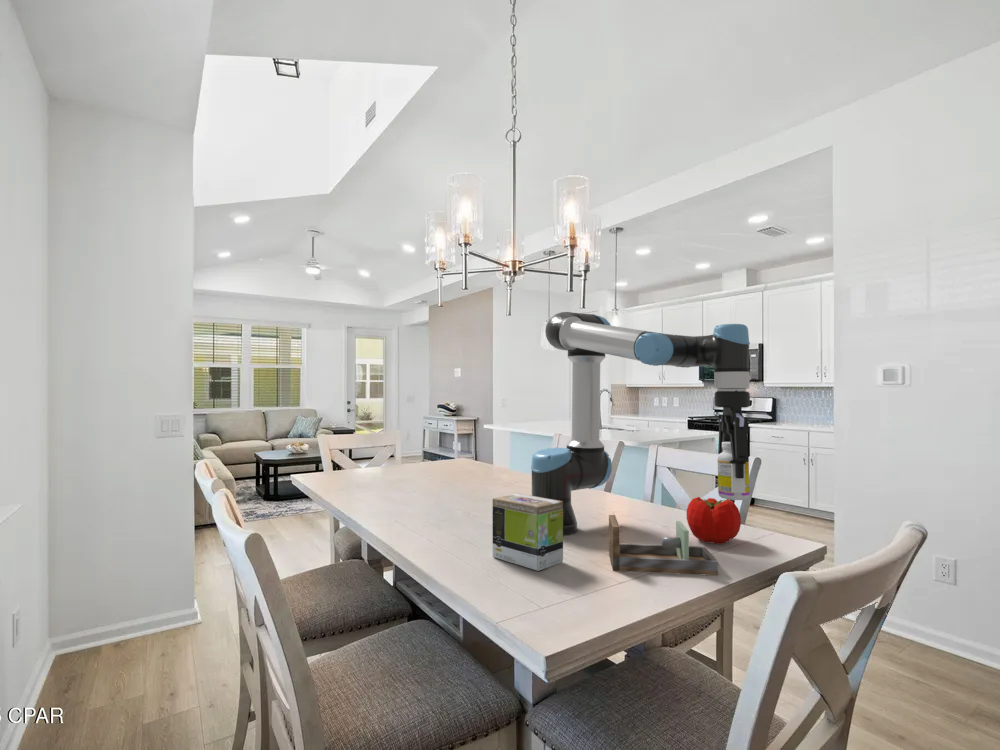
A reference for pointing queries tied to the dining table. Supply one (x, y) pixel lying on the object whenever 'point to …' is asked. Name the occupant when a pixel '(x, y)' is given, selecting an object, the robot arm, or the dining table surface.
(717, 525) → the tomato
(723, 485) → the supplement bottle
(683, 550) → the pusher
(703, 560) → the lane
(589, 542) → the dining table surface
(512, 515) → the tea box
